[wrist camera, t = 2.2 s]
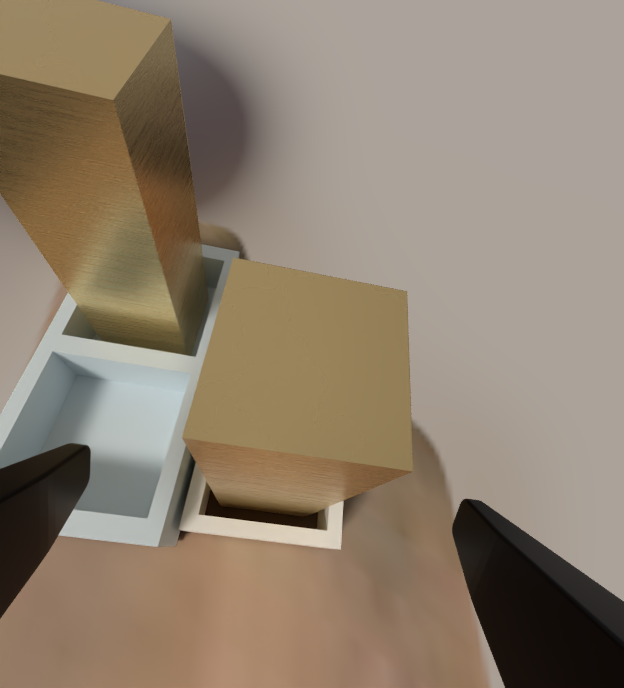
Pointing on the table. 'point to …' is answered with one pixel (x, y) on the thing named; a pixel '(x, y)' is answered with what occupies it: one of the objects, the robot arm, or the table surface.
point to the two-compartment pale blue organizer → (115, 419)
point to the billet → (302, 391)
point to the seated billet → (103, 165)
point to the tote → (200, 523)
